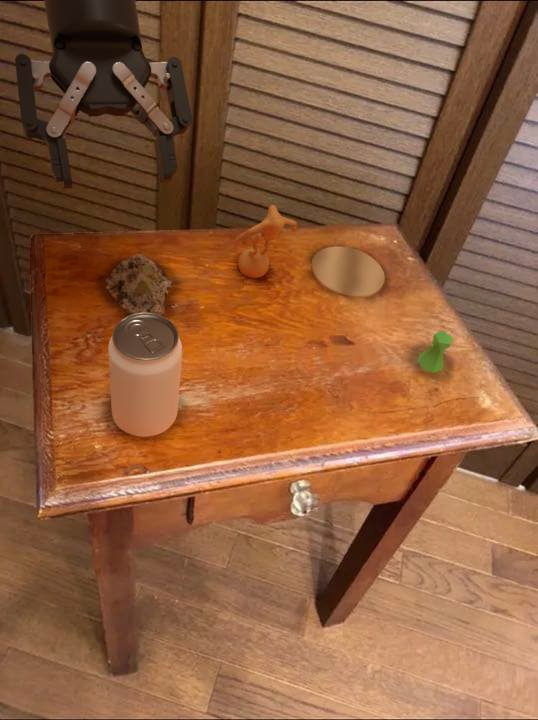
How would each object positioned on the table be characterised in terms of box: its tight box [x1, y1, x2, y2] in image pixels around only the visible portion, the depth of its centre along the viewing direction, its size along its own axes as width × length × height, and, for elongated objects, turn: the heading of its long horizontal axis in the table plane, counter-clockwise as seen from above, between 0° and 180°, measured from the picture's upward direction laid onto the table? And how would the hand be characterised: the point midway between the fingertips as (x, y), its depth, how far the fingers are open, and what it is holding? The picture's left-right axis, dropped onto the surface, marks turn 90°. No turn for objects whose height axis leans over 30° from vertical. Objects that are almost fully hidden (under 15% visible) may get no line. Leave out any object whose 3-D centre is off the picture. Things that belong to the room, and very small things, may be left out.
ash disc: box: [310, 245, 386, 299], centre depth 79 cm, size 10×10×2 cm
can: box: [107, 312, 183, 438], centre depth 55 cm, size 6×6×12 cm
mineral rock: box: [105, 253, 174, 316], centre depth 70 cm, size 11×4×8 cm
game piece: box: [417, 330, 453, 374], centre depth 68 cm, size 4×4×6 cm
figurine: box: [232, 204, 298, 279], centre depth 72 cm, size 8×6×12 cm
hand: (118, 184), depth 52 cm, fingers open, 8 cm apart
